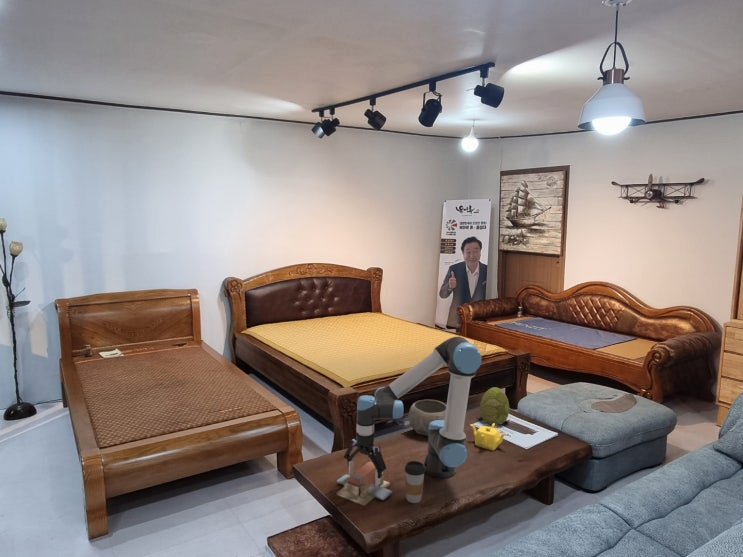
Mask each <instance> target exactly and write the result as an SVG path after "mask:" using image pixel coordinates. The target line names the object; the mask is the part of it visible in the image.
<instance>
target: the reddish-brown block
mask: <svg viewBox="0 0 743 557" xmlns="http://www.w3.org/2000/svg"><path fill="white" fill-rule="evenodd" d="M376 470H377V469H376V468H375V466H374V464H373V462H372V461H368V462H367V463H365V464H364V465H362V467H360V468H358V469H357V470H356V471H354V473H352V474H351V475H350V484H351V485H354V486H357V487H359V495H360V491H361V486H362V485H363V484H364V483H365V484H368V485H369V487H370V486H372V485H373V484H374V483H375V471H376Z"/></svg>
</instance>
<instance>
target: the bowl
mask: <svg viewBox="0 0 743 557" xmlns="http://www.w3.org/2000/svg"><path fill="white" fill-rule="evenodd" d="M446 406H447V404H446V403H444V402H442V401H440V400H436V399H421V400H417V401H415V402H413V403H412V405H411V406H410V408H409V412H408V416H407V417H408V419H407V420H408V423H409V425H410V427H411V428H412V429H413V430H414V431H415V432H417V433H418V434H420V435H422V436H426V437H428V434H429V429H428V428H429V424H430V422H432V421H435V420H445V413H446Z"/></svg>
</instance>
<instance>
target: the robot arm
mask: <svg viewBox="0 0 743 557" xmlns="http://www.w3.org/2000/svg"><path fill="white" fill-rule="evenodd" d="M481 364H482V354H481V351H480V350H479V349H478V348H477V346H475V345H474V344H473V343H472V342H470V341H468V340H467V339H466V338H465V337H461V336H453V337H450V338H448V339H446V340H444V341H442V342H441V343H439V344H438V345H437V346H436V347H434V348H433V352H431V353H430V354H428V356H426V357H424V359H422V360H420V361H419V362H418V363H417V364H415V365H414V366H412V367H411V368H410V369H409V370H407V371H405V372H404V373H403V374H402V375H400V376H399V377H397V378H396V379H395V380H393V381H392V382H391V383H389V384H388V385H386V386H381V387H378V388H377V389H376V390H375V392H374V396H373V395H367V394H366V395H360V396H359V397H358V398H357V402H356V404H357V406H356V433H355V435H356V438H355V437H354V438H353V439H351V440H350V442H349V446H348V447H347V450H346V452H345V453H344V455H343V458H344V459H346V461H347V468H348V475H349V476H350V475H351V474H352V473H354V472H355V470H354V469H355V467H354V466H355V460H354V457H355V456H357V455H358V454H359V453H360V454H363V455H365V456H367V457H368V458H369V459H370V460H371V461H370V462H373V464H374V466H375V468H376V469H377V470H376V471H375V486H377V485H379V484H380V478H381V477H382V472H383V473H384V471H386V470H387V465H386V463H385V460H384V457H383V455H382V451H381V446H379V445H378V446H376V445H375V444H374V443H375V423H376V422H375V421H376V420H395V419H396V420H397V419H401V418H403V416H404V403H403V401H402V400H399V399H400V398H401V397H403V396H404V395H405V394H407V393H408V392H410V391H411V390H412V389H414V388H415V387H416V386H418V385H419V384H421V383H422V382H423V381H425V380H426V379H427V378H429V377H430V376H431V375H432V374H434V373H436V372H437V371H439V369H441V368H442V367H448V368H447V371H448V373H449V375H450V379H449V385H448V386H449V387H448V393H447V398H446V399H447V401H446V413H445V420H435V421H432V422H430V424H429V428H428V429H429V434H428V436H427V439H428V440H427V442H428V443H427V453H426V456H425V458H424V461H423V463H422V464H423V465H424V468H425V473H426V475H427V474H428V475H430V476H432V477H435V478H443V479H444V478H450V477H452V476H454V475H455V474H456V472H457V467H459V466H461V465H462V464H464V463H465V461H466V460H467V457H468V450H467V448H466V446H465V445H466V437H467V434H466V432H464V428H465V421H466V415H467V414H466V413H467V406H468V400H469V395H470V394H469V393H470V387H471V380H472V378H474V377H475V376H476V372H477V370H478V369H479V368H480V367H481ZM355 445H356V446H355ZM354 447H356V449H355V450H354V451H353V449H354Z"/></svg>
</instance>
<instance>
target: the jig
mask: <svg viewBox="0 0 743 557" xmlns="http://www.w3.org/2000/svg"><path fill="white" fill-rule="evenodd" d="M384 476H385V473H384V471H383V472H382V477H381V478H380V484H379V485H377V486H375V483H374V484H373V485H372V486H370V487H369V485H368V484H365V483H364V484H363V485H362V486H361V491H360V495H359V487H357V486H354V485H351V484H350V476H349V474H347V473H345V474H344V475H342V476H341V477H340V478H338V479H337V480H336V483H337V484H340V485H342V486H343V487H342V488H341V489H340V490H338V491H336V496H339V497H341V498H344V499H347V500H349V501H351V502H354V503H356V504H360V506H361V505H362V506H367V504H369V503H370V502H371V501H372V500H373V499H375V498H376V499H379V500H382V501H384V500H385V499H387V498H388V497H389V496H390V495H391V494H392V493H393V490H390V489H388V488H387V487H389V486H390V485H391V482H390V481H386V480H385V478H384Z"/></svg>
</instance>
